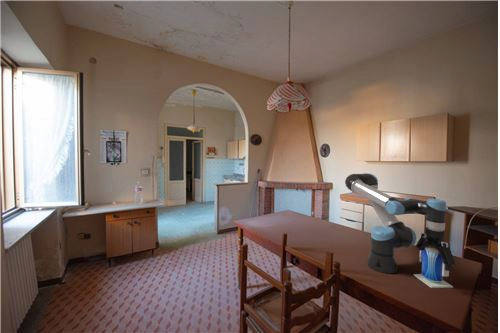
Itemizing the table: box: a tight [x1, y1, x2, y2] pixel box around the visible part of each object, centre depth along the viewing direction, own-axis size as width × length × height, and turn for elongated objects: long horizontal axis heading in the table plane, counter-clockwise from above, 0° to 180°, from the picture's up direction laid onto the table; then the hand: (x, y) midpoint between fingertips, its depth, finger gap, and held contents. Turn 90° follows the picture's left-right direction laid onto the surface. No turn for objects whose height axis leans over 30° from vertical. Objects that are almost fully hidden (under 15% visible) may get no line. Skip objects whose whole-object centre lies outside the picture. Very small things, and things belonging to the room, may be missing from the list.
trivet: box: [413, 273, 454, 289], centre depth 111 cm, size 11×11×1 cm
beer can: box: [421, 246, 444, 283], centre depth 111 cm, size 8×8×16 cm
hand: (433, 268), depth 110 cm, fingers open, 13 cm apart
